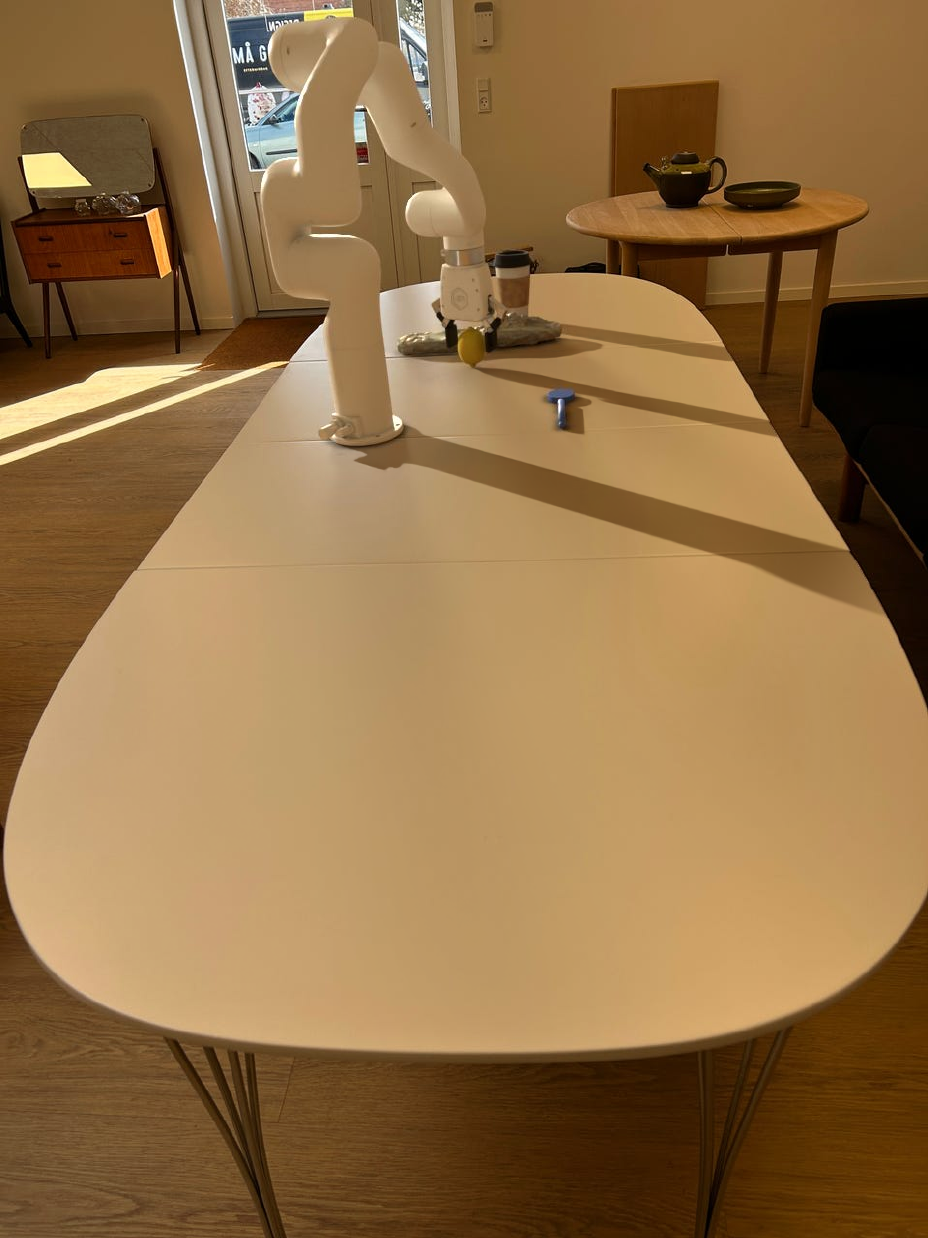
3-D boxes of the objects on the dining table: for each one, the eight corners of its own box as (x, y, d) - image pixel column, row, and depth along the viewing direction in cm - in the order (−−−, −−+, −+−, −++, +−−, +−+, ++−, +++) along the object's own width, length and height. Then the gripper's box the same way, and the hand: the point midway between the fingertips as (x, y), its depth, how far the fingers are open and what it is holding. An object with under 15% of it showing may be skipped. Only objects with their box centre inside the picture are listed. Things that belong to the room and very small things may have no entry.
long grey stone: (399, 351, 203) (399, 367, 195) (395, 327, 200) (394, 343, 192) (559, 328, 202) (565, 343, 194) (557, 303, 199) (563, 318, 191)
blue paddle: (576, 428, 153) (576, 421, 152) (547, 430, 154) (547, 423, 153) (574, 393, 168) (574, 386, 167) (547, 394, 168) (547, 388, 168)
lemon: (487, 362, 188) (485, 321, 183) (485, 370, 183) (483, 329, 179) (460, 363, 188) (457, 323, 184) (457, 372, 184) (454, 331, 179)
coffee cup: (492, 325, 210) (488, 255, 202) (502, 315, 217) (498, 247, 209) (528, 325, 208) (525, 255, 200) (537, 315, 214) (534, 246, 206)
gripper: (416, 258, 176) (425, 349, 186) (492, 263, 167) (498, 358, 177) (439, 250, 181) (447, 339, 191) (514, 254, 173) (519, 347, 182)
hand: (471, 348), depth 184 cm, fingers open, 8 cm apart
